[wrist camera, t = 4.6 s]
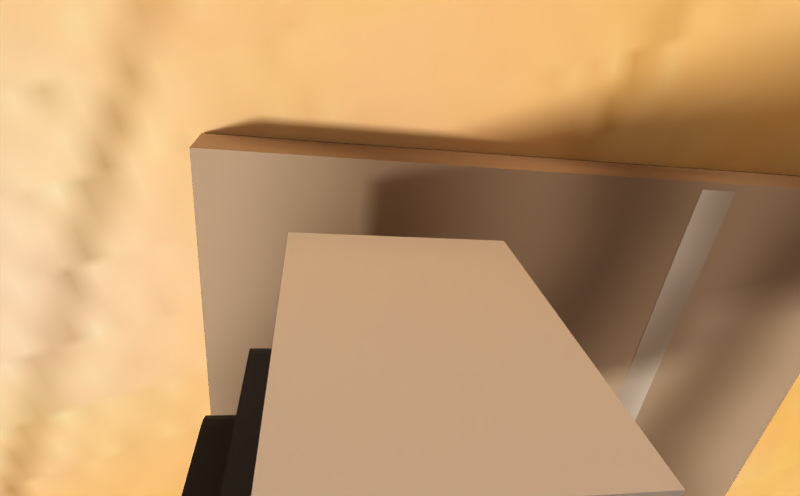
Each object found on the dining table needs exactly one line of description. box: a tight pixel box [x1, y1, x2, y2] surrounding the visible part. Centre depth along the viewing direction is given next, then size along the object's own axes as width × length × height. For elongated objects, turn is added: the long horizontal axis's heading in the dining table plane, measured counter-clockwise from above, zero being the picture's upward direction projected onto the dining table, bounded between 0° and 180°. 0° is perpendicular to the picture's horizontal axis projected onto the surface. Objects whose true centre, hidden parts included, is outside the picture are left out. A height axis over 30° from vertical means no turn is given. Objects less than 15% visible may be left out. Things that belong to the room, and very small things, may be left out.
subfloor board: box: [190, 133, 800, 496], centre depth 16 cm, size 19×17×1 cm
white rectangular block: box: [251, 232, 685, 496], centre depth 9 cm, size 4×7×6 cm, turn 174°
